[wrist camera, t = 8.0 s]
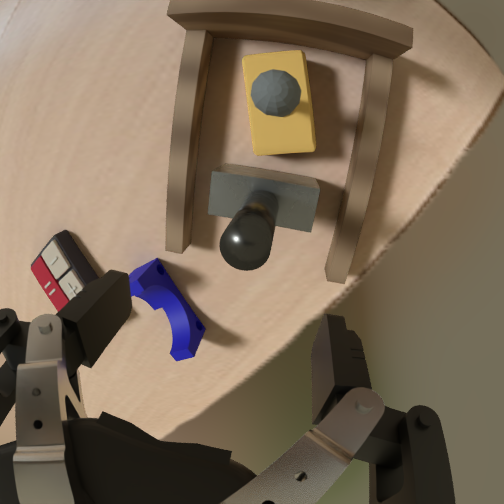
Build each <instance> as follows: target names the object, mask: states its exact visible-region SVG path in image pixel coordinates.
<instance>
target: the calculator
mask: <svg viewBox="0 0 504 504" xmlns="http://www.w3.org/2000/svg"><path fill="white" fill-rule="evenodd" d="M31 270H32V272H33V274H34V275H35V277H36V279H37V280H38V282H39V284H40V285H41V287H42V288H43V290H44V291H45V293H46V294H47V296H48V297H49V299H50V300H51V302H52V303H53V305H54V306H55V308H56V309H57V311H58V312H59V311H60V310H61V309H62V308H63V307H64V306H65V305H66V304H67V303H68V302H69V301H70V300H71V299H72V298H73V297H74V296H75V297H76V294H77V293H78V292H80V291H81V290H82V289H83V288H84V287H85V286H86V285H87V284H88V283H90V282H92V281H94V280H96V279H98V276H97V275H96V273H95V272H94V270H93V269H92V267H91V266H90V264H89V263H88V261H87V260H86V258H85V257H84V255H83V254H82V252H81V251H80V249H79V248H78V246H77V245H76V243H75V242H74V240H73V239H72V237H71V236H70V234H69V233H68V231H67V230H64V231H62V232H60V233H58V234H56V235H54V236H53V237H52V238H51V240H50V241H49V242H48V243H47V245H46V246H45V247H44V248H43V250H42V251H41V252H40V254H39V255H38V256H37V257H36V259H35V260H34V261H33V263H32V264H31Z"/></svg>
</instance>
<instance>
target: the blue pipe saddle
mask: <svg viewBox="0 0 504 504" xmlns="http://www.w3.org/2000/svg"><path fill="white" fill-rule="evenodd" d="M129 281H130V291H131V296H134V295H135V296H136V297H139V298H141V299H143V300H145V301H146V302H147V303H148V304H149V305H150V306H151V307H152V308H153V309H154V310H156V309H159V308H161V307H162V308H163V309H164V311H165V312H166V314H167V316H168V319H169V321H170V324H171V328H172V335H173V343H172V348H171V351H170V354H171V356H172V357H173V358H174V359H175V360H176V361H180V360H184V359H188V358H192V357H194V356H195V354H196V351H197V349H198V346H199V344H200V342H201V339H202V337H203V334H204V332H205V329H206V328H205V327H204V326H203V324H202V323H201V322H200V320H199V319H198V317H197V316H196V314H195V313H194V312H193V310H192V309H191V307H190V306H189V304H188V303H187V302H186V300H185V299H184V297H183V296H182V294H181V293H180V291H179V290H178V288H177V287H176V285H175V284H174V282H173V281H172V279H171V278H170V276H169V275H168V273H167V272H166V270H165V269H164V267H163V266H162V264H161V262H160V261H159V259H158V258H156V259H154V260H152V261H150V262H148V263H146V264H145V265H143V266H141V267H139V268H137V269H135V270H134V271H133V272H132V273H131V274H130V275H129Z"/></svg>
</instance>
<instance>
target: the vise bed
mask: <svg viewBox="0 0 504 504" xmlns="http://www.w3.org/2000/svg"><path fill="white" fill-rule="evenodd" d="M167 15H168V16H169V17H170V18H172V19H173V20H174V21H175V22H177V23H178V24H179V25H181V26H182V27H183V28H184V29H186V30H187V31H186V36H185V42H184V47H183V53H182V59H181V65H180V71H179V78H178V85H177V92H176V99H175V107H174V116H173V125H172V135H171V145H170V157H169V171H168V187H167V208H166V251H170V252H175V253H180V254H182V253H183V252H184V251H185V250H186V248H187V247H188V246H189V245H190V244H191V230H192V214H193V200H194V188H195V176H196V166H197V155H198V146H199V137H200V128H201V120H202V112H203V104H204V97H205V90H206V83H207V76H208V70H209V64H210V57H211V52H212V46H213V40H214V38H233V39H250V40H262V41H272V42H280V43H288V44H295V45H301V46H307V47H313V48H318V49H323V50H328V51H332V52H337V53H341V54H345V55H349V56H353V57H357V58H361V59H364V60H366V67H365V75H364V83H363V90H362V97H361V104H360V110H359V116H358V122H357V128H356V134H355V139H354V145H353V150H352V155H351V160H350V165H349V170H348V175H347V180H346V184H345V189H344V193H343V198H342V202H341V207H340V211H339V215H338V219H337V223H336V227H335V231H334V235H333V239H332V243H331V247H330V251H329V254H328V258H327V262H326V265H325V272H326V277H327V281H330V282H336V283H342V284H345V281H346V278H347V275H348V272H349V269H350V265H351V262H352V259H353V256H354V252H355V249H356V246H357V242H358V239H359V235H360V231H361V228H362V224H363V220H364V217H365V213H366V209H367V205H368V201H369V197H370V193H371V188H372V184H373V180H374V175H375V171H376V166H377V161H378V157H379V152H380V146H381V141H382V136H383V130H384V124H385V118H386V112H387V106H388V99H389V92H390V84H391V76H392V67H393V59H395V58H397V57H398V56H400V55H401V54H403V53H405V52H406V51H408V50H409V49H411V48H412V44H413V28H411V27H408V26H406V25H403V24H400V23H398V22H395V21H392V20H389V19H386V18H383V17H380V16H377V15H373V14H370V13H367V12H363V11H359V10H356V9H352V8H348V7H343V6H339V5H335V4H330V3H325V2H320V1H314V0H170V3H169V7H168V11H167Z"/></svg>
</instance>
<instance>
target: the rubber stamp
mask: <svg viewBox="0 0 504 504" xmlns="http://www.w3.org/2000/svg"><path fill="white" fill-rule="evenodd" d="M242 65H243V73H244V80H245V88H246V96H247V104H248V112H249V120H250V128H251V136H252V144H253V152H254V153H255V154H256V155H257V156H262V155H273V154H286V153H300V152H313V151H314V150H315V149H316V138H315V127H314V118H313V108H312V100H311V92H310V84H309V77H308V69H307V63H306V56H305V53H304V52H303V51H301V50H294V51H280V52H270V53H261V54H253V55H246V56H244V57H243V59H242Z"/></svg>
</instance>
